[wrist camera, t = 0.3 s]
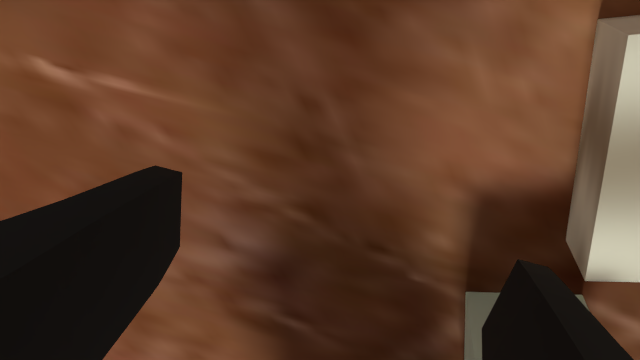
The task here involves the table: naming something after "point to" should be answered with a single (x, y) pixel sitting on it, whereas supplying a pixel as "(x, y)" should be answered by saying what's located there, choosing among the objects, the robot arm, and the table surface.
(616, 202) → the cream block
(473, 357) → the sage block
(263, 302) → the table surface
